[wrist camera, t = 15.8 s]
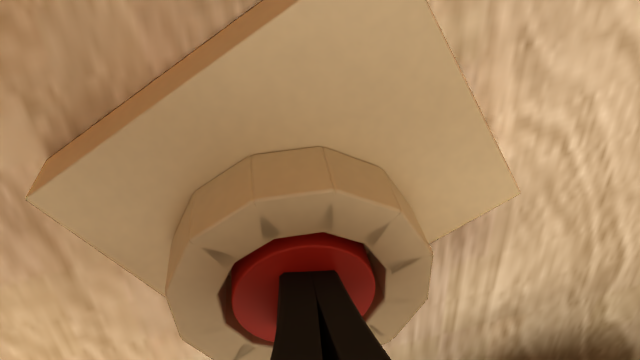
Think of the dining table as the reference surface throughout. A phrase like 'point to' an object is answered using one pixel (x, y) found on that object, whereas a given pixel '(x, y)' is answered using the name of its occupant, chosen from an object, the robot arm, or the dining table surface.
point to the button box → (285, 160)
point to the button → (296, 256)
